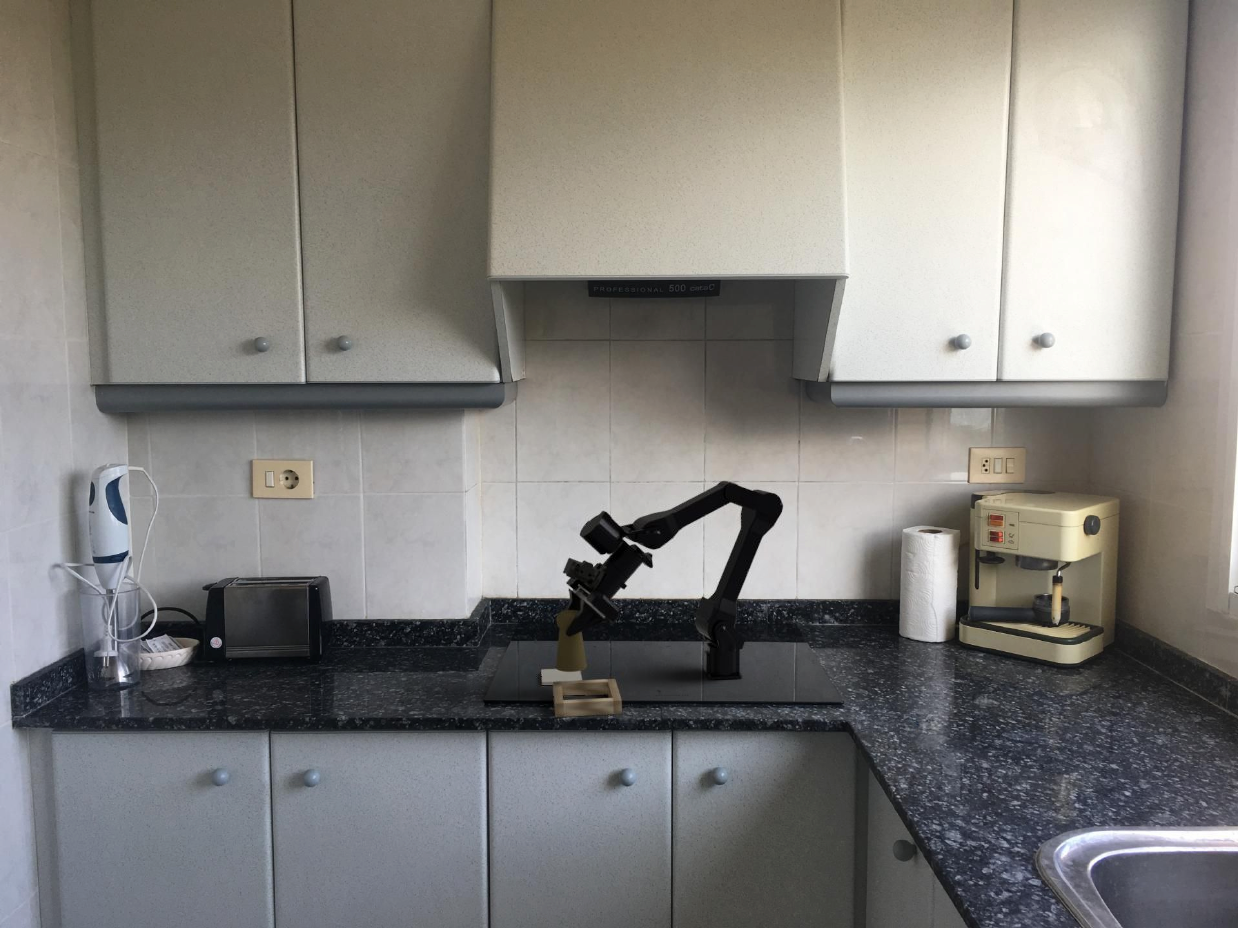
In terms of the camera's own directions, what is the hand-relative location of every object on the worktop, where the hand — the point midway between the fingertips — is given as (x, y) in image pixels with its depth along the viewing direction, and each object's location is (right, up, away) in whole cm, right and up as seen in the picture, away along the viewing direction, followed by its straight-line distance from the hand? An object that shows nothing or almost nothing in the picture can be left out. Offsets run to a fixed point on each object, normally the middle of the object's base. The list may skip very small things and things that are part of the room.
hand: (563, 631), depth 173 cm
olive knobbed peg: (+2, -7, +1) cm, 7 cm away
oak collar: (+5, -13, -4) cm, 14 cm away
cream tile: (-1, -11, +10) cm, 15 cm away
